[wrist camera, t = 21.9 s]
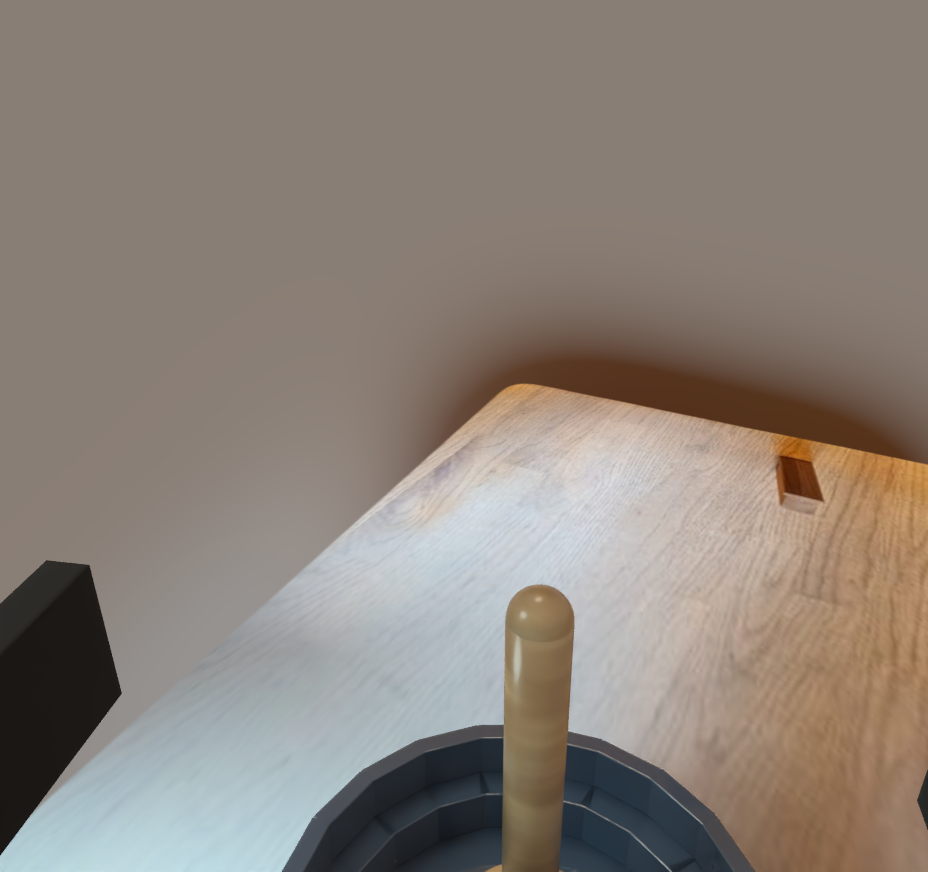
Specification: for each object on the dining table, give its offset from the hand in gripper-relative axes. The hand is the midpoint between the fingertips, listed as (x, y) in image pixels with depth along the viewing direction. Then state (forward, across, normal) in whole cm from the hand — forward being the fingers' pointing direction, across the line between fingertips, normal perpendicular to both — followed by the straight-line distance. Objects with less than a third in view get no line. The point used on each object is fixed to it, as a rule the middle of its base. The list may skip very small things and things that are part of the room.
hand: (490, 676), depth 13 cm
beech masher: (+10, 0, -23) cm, 25 cm away
